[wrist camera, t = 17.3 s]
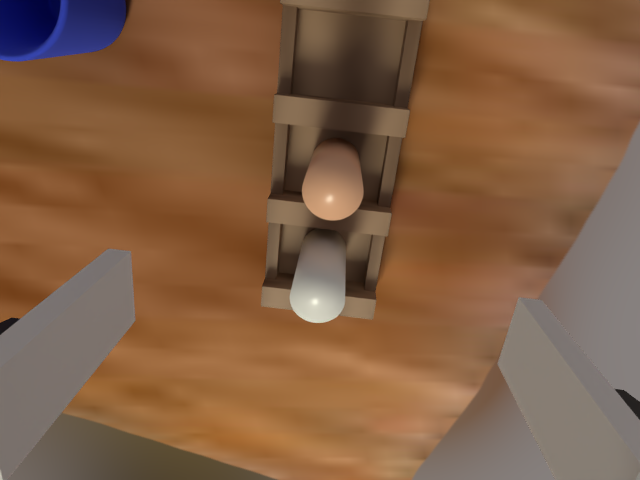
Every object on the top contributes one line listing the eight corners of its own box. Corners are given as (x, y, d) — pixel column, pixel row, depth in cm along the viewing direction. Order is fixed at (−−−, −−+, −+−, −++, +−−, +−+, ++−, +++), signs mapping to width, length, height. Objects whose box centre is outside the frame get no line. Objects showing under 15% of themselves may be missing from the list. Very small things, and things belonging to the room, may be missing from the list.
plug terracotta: (309, 182, 38) (299, 216, 29) (314, 135, 36) (304, 157, 28) (356, 187, 38) (359, 223, 29) (362, 140, 36) (367, 164, 28)
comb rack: (268, 284, 43) (261, 306, 39) (289, -22, 33) (282, -32, 29) (370, 296, 43) (372, 319, 39) (422, -6, 33) (432, -15, 29)
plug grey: (301, 266, 41) (289, 320, 33) (302, 226, 39) (290, 272, 31) (344, 269, 41) (343, 324, 32) (347, 229, 39) (347, 276, 31)
